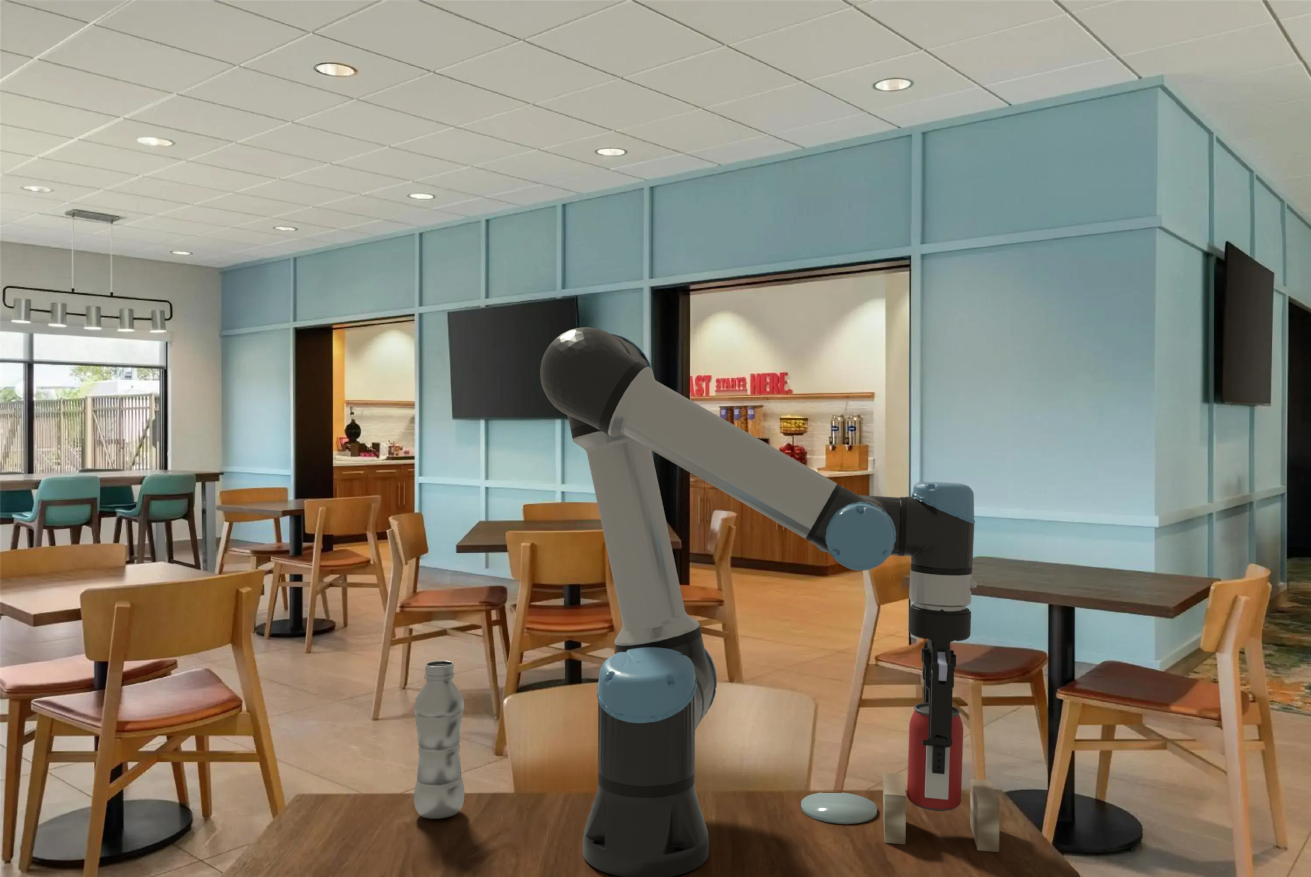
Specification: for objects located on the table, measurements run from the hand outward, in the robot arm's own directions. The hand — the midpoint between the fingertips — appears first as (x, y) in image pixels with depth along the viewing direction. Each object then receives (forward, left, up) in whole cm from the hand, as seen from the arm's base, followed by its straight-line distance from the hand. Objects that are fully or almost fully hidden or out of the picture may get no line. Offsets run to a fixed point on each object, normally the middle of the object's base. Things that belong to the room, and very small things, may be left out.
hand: (934, 787), depth 128 cm
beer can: (0, 0, -2) cm, 2 cm away
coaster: (-12, +6, -6) cm, 15 cm away
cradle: (+1, 0, -6) cm, 6 cm away
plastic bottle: (-63, -7, -6) cm, 64 cm away
